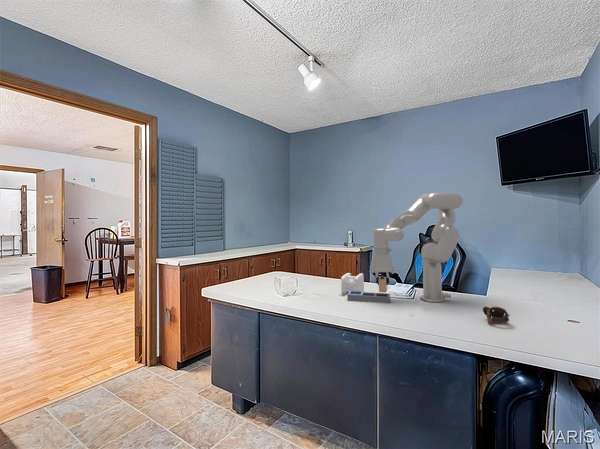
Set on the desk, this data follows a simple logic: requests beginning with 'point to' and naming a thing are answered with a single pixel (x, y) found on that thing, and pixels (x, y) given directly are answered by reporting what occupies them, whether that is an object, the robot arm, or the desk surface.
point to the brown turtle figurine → (496, 315)
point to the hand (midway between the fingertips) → (382, 284)
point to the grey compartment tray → (368, 297)
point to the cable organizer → (352, 283)
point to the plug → (382, 284)
